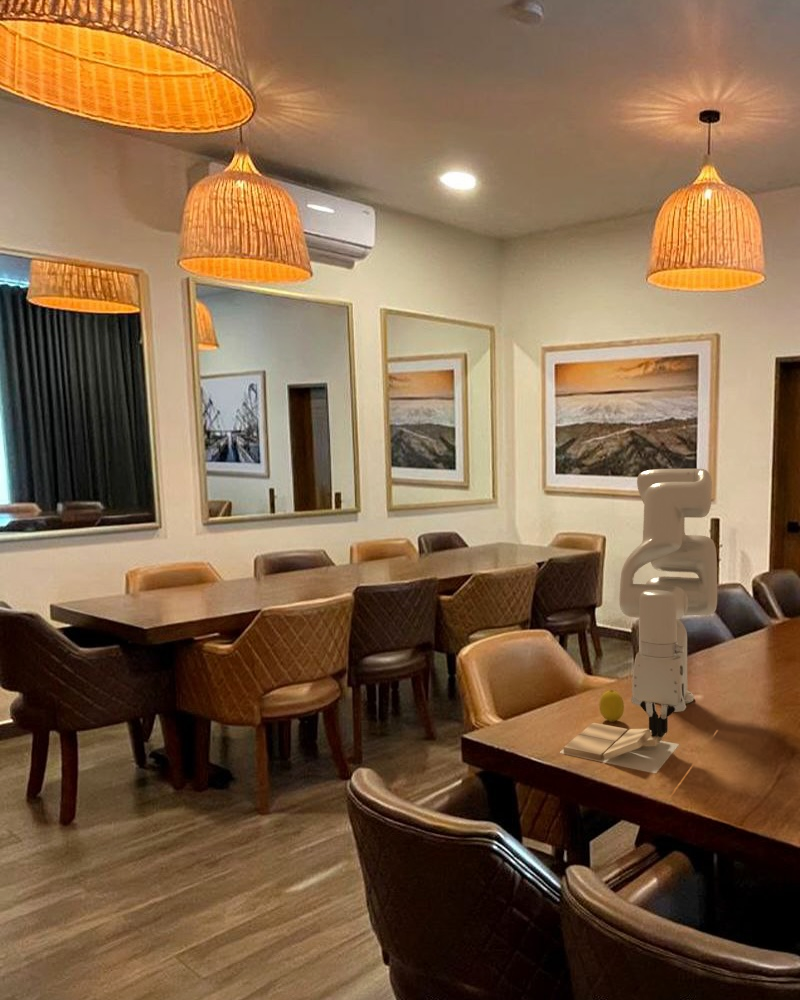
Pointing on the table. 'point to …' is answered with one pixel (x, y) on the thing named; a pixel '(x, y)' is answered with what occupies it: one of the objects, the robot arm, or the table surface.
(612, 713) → the lemon
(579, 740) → the row
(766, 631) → the table surface
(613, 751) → the plank near
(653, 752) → the underlay mat
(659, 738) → the plank far
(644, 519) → the robot arm
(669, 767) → the table surface
